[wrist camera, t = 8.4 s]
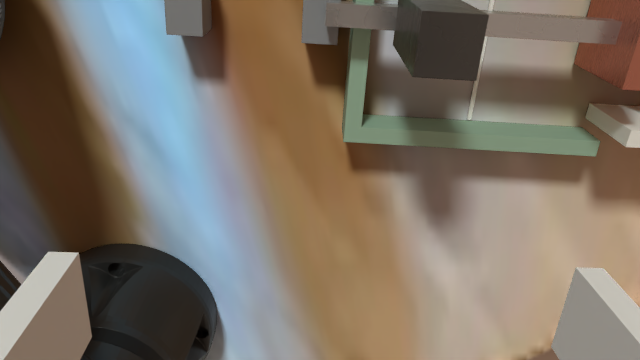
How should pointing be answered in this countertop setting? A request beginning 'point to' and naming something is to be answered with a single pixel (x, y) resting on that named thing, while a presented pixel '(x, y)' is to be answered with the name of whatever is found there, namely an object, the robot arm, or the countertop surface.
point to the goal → (617, 122)
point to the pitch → (195, 20)
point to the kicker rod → (498, 35)
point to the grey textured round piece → (2, 15)
